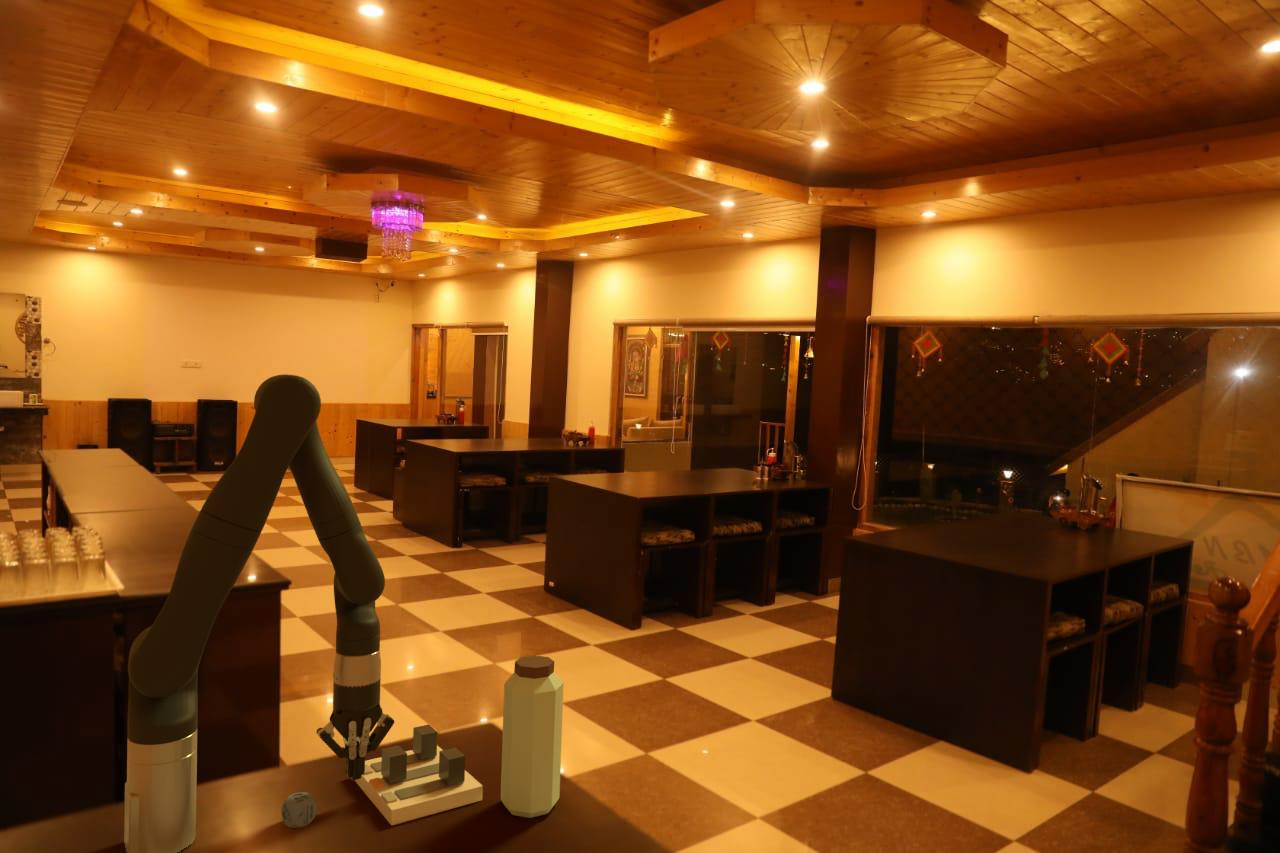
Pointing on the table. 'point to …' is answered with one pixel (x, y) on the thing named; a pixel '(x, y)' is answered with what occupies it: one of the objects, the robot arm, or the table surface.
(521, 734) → the water bottle
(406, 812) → the breaker panel
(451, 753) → the block
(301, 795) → the decorative dice
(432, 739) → the block
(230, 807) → the table surface
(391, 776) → the block
